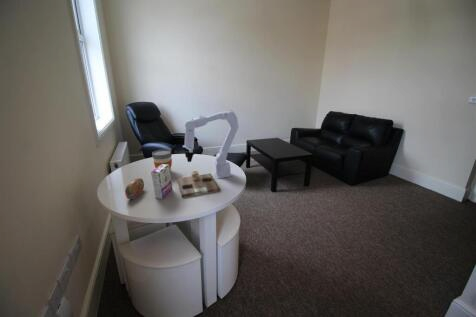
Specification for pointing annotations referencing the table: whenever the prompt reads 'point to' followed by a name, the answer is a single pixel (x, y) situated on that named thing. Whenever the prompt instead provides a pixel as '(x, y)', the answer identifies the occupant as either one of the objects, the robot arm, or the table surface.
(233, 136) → the robot arm
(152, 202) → the table surface
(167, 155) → the orange jar
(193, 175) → the maple block
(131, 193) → the brown flattened oblong
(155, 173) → the candy bar box
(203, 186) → the board
